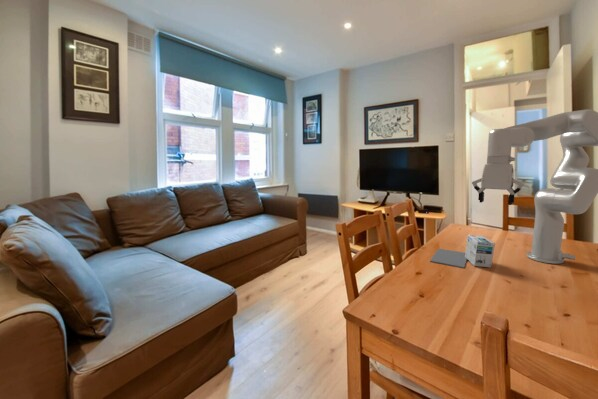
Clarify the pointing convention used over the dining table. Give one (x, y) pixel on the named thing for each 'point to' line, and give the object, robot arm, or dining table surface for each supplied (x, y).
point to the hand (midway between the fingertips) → (495, 203)
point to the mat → (449, 258)
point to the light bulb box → (479, 251)
